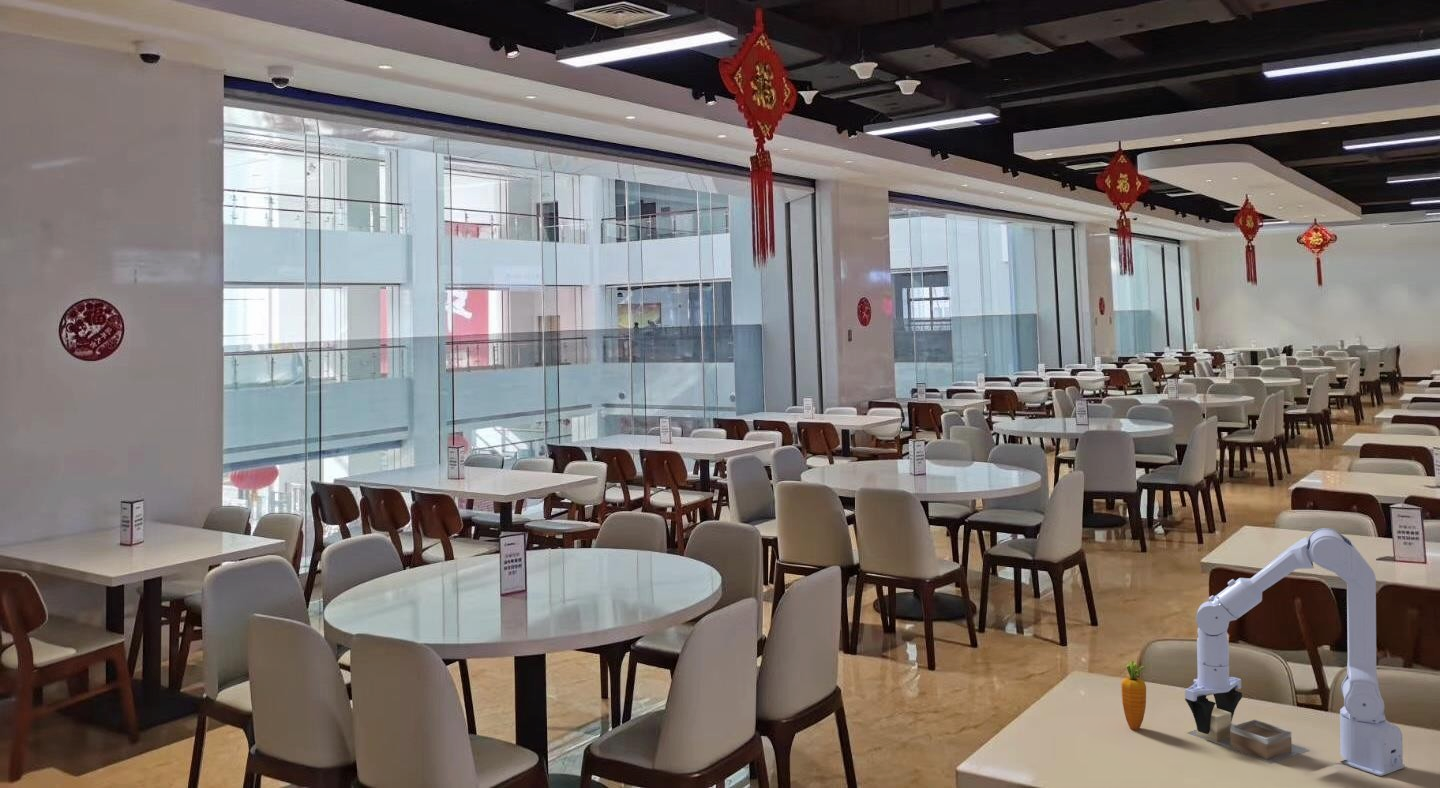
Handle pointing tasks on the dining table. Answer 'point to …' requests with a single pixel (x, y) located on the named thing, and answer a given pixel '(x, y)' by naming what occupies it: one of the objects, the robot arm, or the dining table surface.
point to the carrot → (1134, 697)
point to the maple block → (1218, 726)
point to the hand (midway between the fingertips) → (1214, 729)
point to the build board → (1227, 743)
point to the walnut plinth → (1261, 739)
